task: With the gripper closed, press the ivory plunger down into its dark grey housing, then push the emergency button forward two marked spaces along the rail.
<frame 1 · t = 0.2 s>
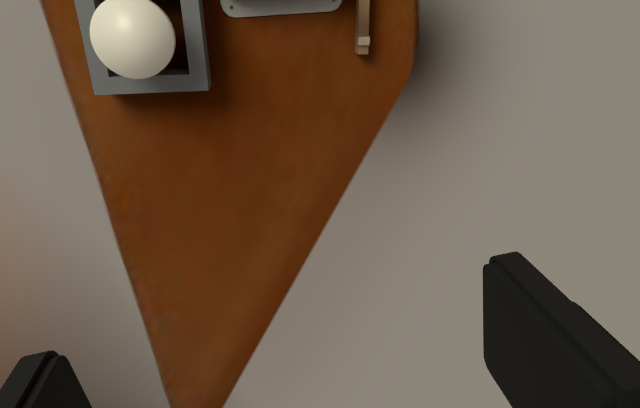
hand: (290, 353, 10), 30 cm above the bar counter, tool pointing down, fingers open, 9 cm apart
plunger: (138, 35, 31), point 4 cm above the bar counter, slide at 0.0 cm
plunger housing: (151, 31, 35), on the bar counter
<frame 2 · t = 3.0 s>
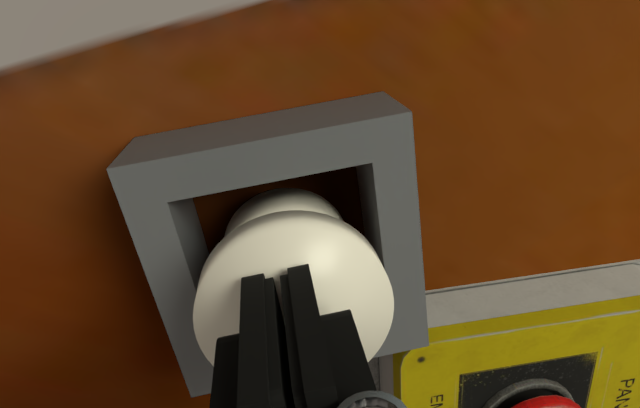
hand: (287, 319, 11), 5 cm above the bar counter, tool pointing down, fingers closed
plunger: (290, 276, 13), point 3 cm above the bar counter, slide at -0.9 cm, touching gripper
emergency button: (505, 353, 21), on the bar counter
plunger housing: (284, 224, 16), on the bar counter
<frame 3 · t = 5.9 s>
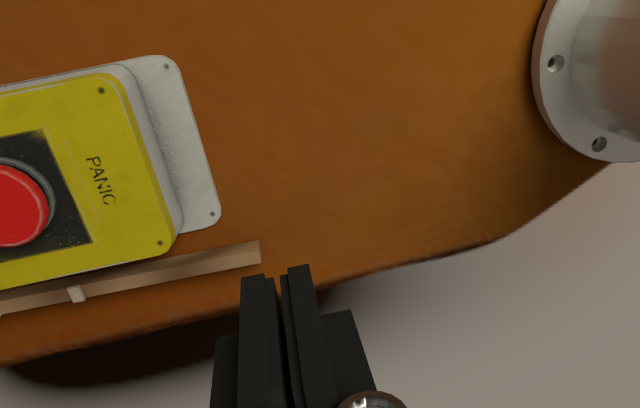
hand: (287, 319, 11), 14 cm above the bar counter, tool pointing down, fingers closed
emergency button: (61, 169, 24), on the bar counter
rail: (84, 280, 26), on the bar counter
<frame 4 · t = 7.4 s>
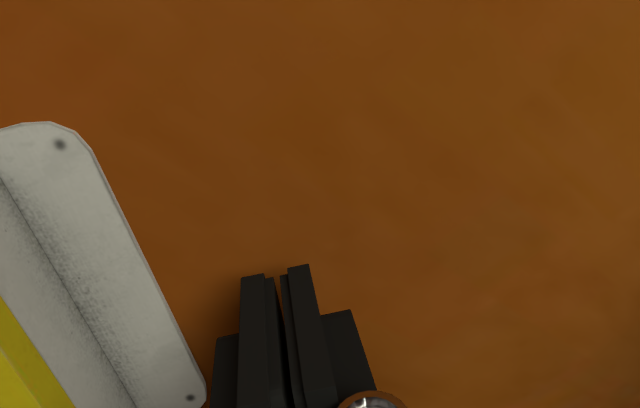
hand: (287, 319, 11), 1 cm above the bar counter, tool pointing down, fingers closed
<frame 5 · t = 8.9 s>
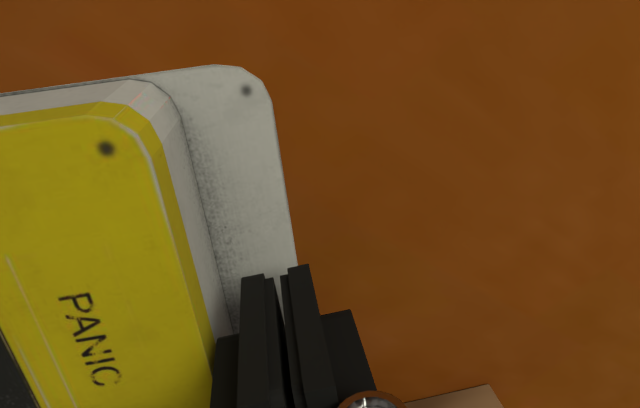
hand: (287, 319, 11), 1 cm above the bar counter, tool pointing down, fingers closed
emergency button: (10, 274, 12), on the bar counter, touching gripper
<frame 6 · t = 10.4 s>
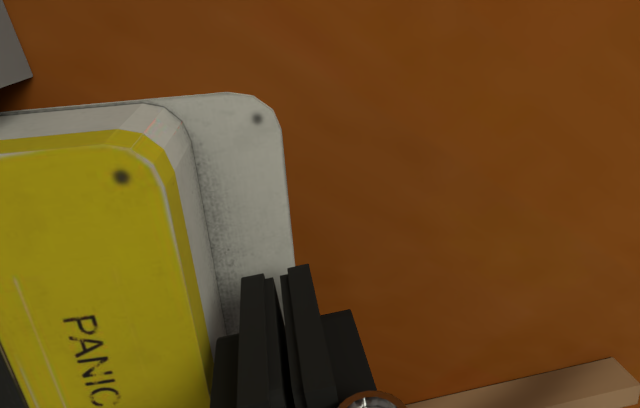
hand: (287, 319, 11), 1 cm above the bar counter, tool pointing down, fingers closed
emergency button: (8, 287, 12), on the bar counter
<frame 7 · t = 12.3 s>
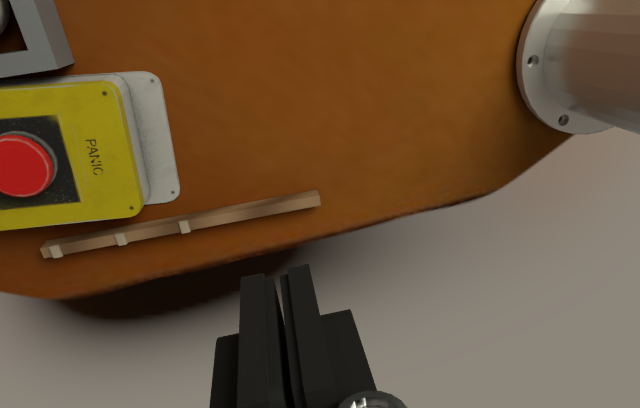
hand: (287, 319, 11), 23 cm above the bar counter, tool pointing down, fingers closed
emergency button: (60, 145, 32), on the bar counter
rail: (186, 219, 35), on the bar counter
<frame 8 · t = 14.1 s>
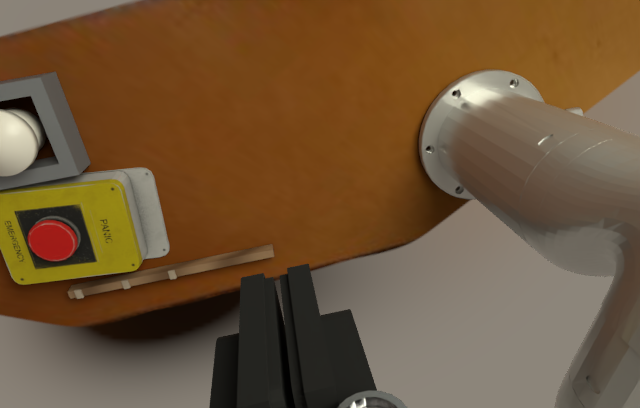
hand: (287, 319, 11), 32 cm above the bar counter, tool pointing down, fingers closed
plunger: (8, 138, 36), point 3 cm above the bar counter, slide at -1.2 cm
emergency button: (82, 218, 44), on the bar counter
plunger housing: (26, 128, 39), on the bar counter
rail: (174, 267, 46), on the bar counter
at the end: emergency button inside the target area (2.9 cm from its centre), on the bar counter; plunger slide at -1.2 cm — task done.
